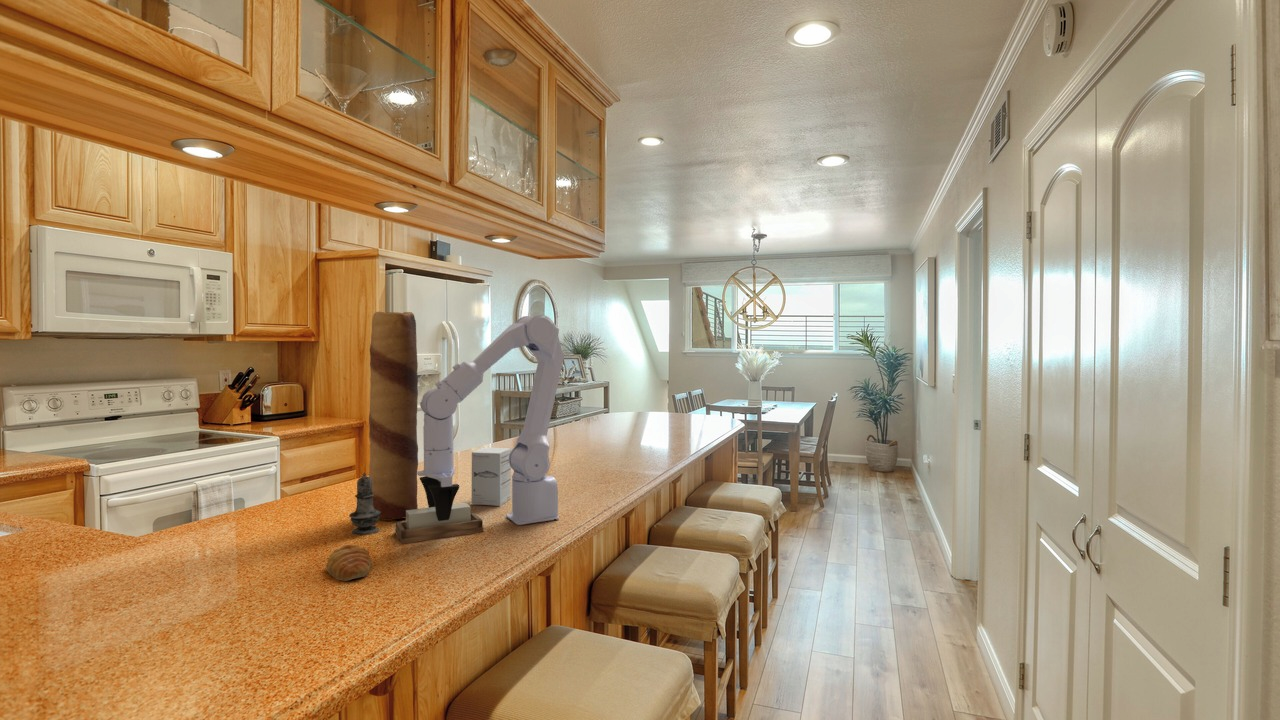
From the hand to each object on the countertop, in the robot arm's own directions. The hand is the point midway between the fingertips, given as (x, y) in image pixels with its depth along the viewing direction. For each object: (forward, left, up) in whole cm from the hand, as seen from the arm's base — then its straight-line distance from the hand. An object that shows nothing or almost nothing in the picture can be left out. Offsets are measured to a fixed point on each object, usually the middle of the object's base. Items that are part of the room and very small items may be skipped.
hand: (439, 515), depth 127 cm
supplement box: (-16, -18, -4) cm, 24 cm away
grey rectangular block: (0, 0, -3) cm, 3 cm away
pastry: (+18, +15, -4) cm, 23 cm away
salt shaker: (+13, -8, -4) cm, 16 cm away
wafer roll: (+6, -17, -4) cm, 18 cm away
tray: (0, 0, -3) cm, 3 cm away
